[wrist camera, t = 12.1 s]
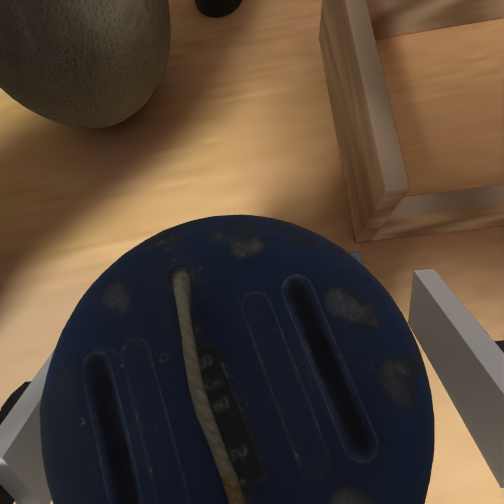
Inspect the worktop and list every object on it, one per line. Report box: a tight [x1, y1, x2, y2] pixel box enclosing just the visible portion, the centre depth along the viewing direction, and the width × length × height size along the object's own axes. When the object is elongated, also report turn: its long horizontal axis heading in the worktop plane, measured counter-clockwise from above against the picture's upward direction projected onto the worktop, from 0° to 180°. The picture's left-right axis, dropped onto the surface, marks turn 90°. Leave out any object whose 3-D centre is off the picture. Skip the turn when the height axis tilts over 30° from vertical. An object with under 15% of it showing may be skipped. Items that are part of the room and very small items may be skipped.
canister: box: [39, 215, 434, 504], centre depth 15 cm, size 10×10×18 cm
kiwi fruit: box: [0, 0, 170, 128], centre depth 25 cm, size 14×14×15 cm
